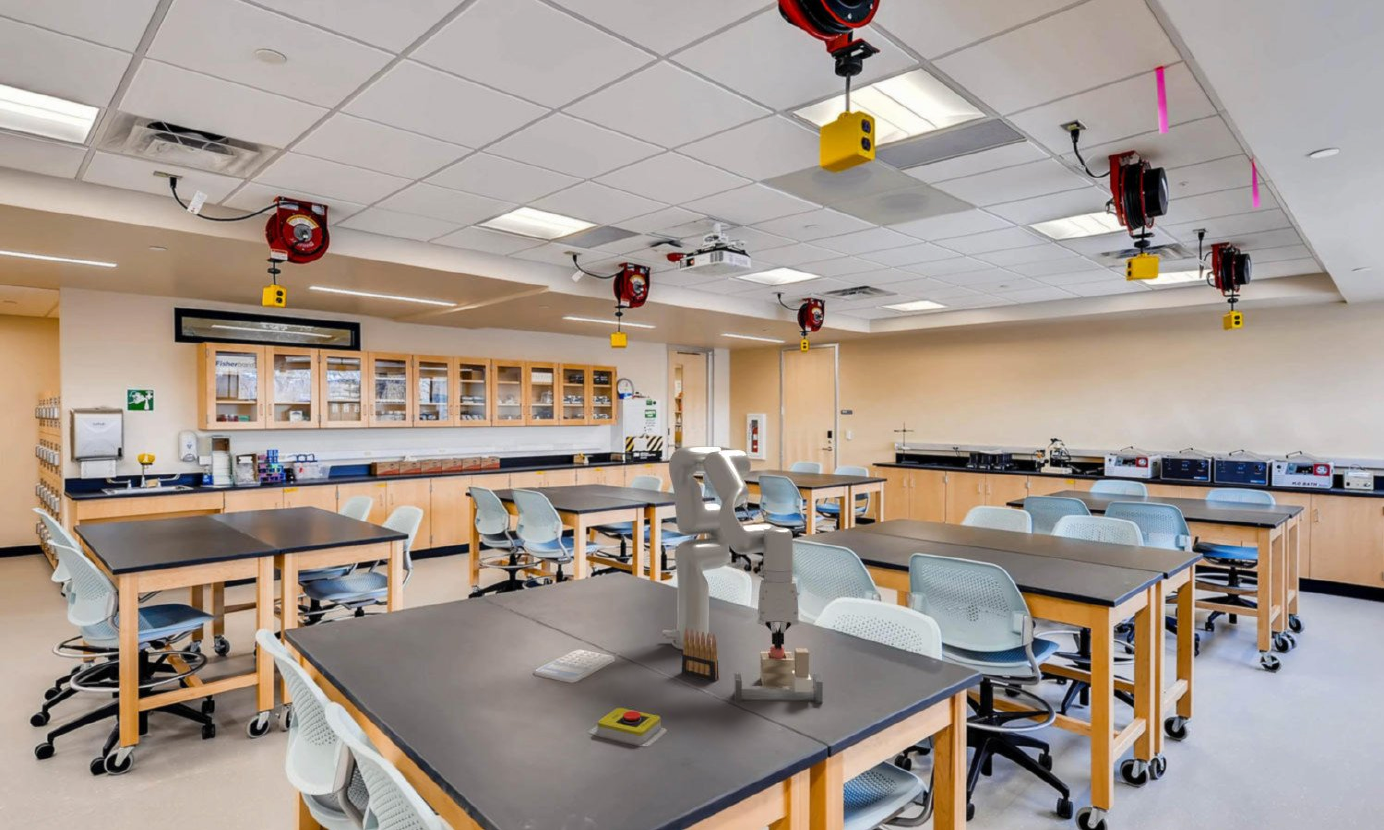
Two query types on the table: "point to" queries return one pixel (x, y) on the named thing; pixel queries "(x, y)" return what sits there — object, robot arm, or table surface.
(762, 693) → the rail
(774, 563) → the robot arm
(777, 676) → the wooden box
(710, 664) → the ammunition clip
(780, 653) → the button
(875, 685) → the table surface
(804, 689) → the carriage
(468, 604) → the table surface
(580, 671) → the calculator
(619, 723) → the emergency button
